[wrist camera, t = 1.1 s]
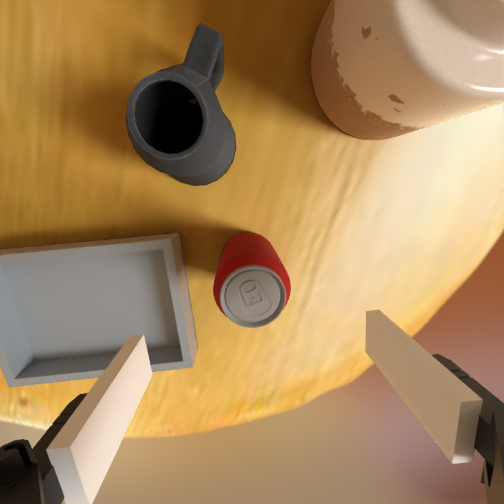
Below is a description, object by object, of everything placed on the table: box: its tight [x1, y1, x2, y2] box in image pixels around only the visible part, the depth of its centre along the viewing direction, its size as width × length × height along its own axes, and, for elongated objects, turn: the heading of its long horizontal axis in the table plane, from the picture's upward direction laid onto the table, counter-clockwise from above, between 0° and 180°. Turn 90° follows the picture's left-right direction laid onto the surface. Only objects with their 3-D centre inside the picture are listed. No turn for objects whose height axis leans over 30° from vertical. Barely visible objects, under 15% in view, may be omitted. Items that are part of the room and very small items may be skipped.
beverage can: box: [213, 233, 291, 328], centre depth 26 cm, size 7×7×12 cm
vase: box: [311, 0, 504, 140], centre depth 19 cm, size 15×15×17 cm
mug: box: [126, 23, 236, 186], centre depth 23 cm, size 12×9×11 cm
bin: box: [0, 232, 198, 387], centre depth 31 cm, size 16×22×4 cm
